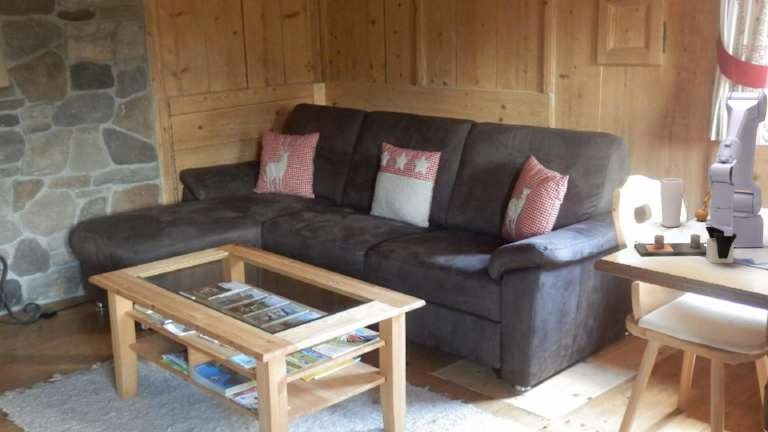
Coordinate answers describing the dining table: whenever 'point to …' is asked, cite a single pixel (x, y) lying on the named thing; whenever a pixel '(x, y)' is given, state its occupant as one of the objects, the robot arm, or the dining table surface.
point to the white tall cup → (671, 201)
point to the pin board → (672, 247)
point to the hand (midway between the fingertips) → (719, 255)
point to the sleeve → (713, 253)
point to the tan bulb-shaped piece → (702, 213)
